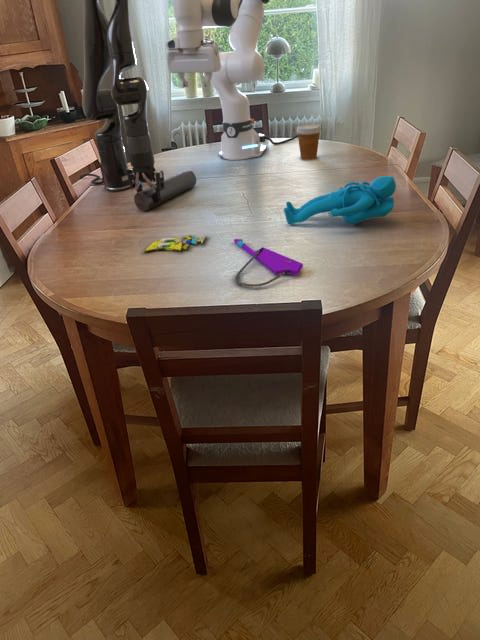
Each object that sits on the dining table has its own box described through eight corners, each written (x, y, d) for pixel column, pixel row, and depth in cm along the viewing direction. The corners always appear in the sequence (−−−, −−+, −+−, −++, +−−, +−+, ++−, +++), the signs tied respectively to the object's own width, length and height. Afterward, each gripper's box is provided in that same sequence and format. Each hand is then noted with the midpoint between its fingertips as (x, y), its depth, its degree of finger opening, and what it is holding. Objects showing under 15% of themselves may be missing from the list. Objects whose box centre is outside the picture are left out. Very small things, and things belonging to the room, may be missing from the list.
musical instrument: (279, 298, 104) (317, 250, 116) (277, 290, 102) (316, 243, 115) (192, 283, 116) (235, 241, 129) (190, 275, 115) (233, 234, 127)
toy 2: (287, 190, 142) (392, 164, 131) (296, 223, 147) (398, 200, 137) (279, 211, 128) (395, 184, 118) (289, 247, 133) (402, 223, 123)
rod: (150, 212, 154) (146, 193, 151) (136, 210, 157) (132, 191, 154) (197, 187, 172) (195, 170, 169) (183, 185, 175) (181, 168, 172)
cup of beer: (293, 160, 191) (293, 129, 184) (300, 154, 198) (300, 123, 192) (317, 161, 188) (317, 129, 181) (323, 154, 195) (323, 123, 188)
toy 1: (199, 248, 125) (143, 249, 127) (199, 251, 125) (144, 252, 127) (206, 233, 133) (154, 234, 135) (206, 236, 133) (154, 237, 136)
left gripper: (165, 147, 147) (174, 200, 156) (131, 145, 154) (141, 196, 163) (150, 154, 142) (159, 208, 151) (114, 151, 149) (126, 203, 158)
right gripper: (222, 38, 156) (226, 85, 164) (173, 41, 166) (179, 85, 173) (211, 40, 152) (216, 88, 159) (161, 43, 161) (168, 88, 169)
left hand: (149, 201), depth 157 cm, fingers closed on rod, 6 cm apart
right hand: (196, 87), depth 166 cm, fingers open, 8 cm apart
